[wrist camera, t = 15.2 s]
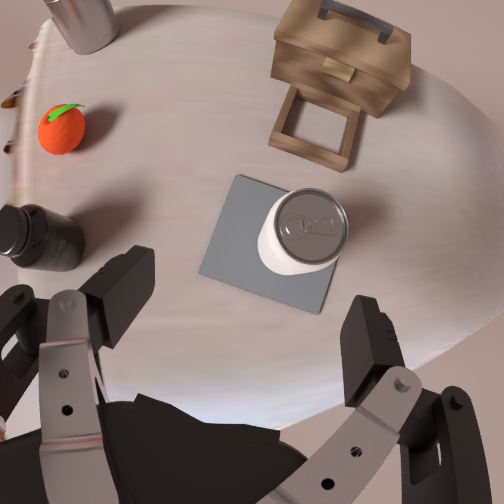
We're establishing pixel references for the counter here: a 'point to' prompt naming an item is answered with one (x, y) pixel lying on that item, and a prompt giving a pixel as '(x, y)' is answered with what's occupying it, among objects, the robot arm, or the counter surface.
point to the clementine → (61, 129)
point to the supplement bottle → (40, 238)
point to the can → (303, 232)
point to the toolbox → (337, 69)
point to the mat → (246, 251)
